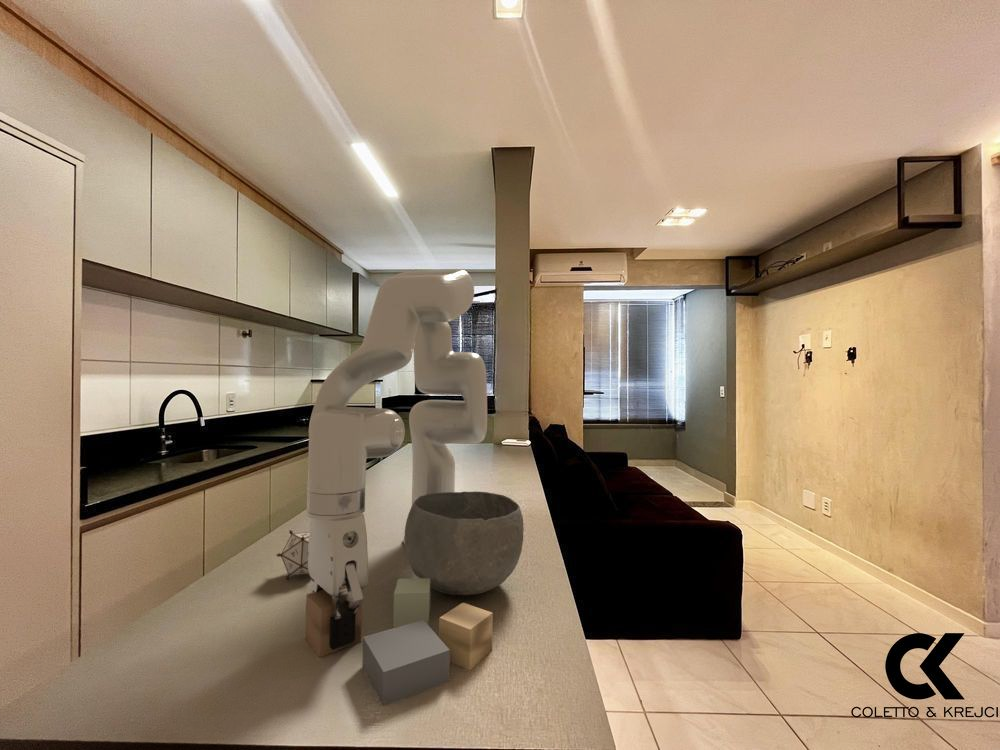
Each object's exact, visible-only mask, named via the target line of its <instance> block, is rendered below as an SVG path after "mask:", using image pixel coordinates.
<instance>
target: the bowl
mask: <svg viewBox="0 0 1000 750" xmlns="http://www.w3.org/2000/svg"><path fill="white" fill-rule="evenodd" d="M522 514H523V513H522V510H521V508H520V505H519V504H518V503H517V502H516V501H515V500H514V499H512V498H510V497H509V496H507V495H503V494H499V493H495V492H494V493H493V492H487V491H476V490H475V491H461V492H459V491H455V492H443V493H432V494H426V495H424V496H420V497H419V498H417V499H416V500H415V501H414V503H413V505H412V504H411V507H410V509H409V512H408V515H407V518H406V521H405V527H404V536H405V537H404V536H403V542H404V541H405V544H404V548H405V549H404V550H405V552H406V557H407V561H408V563H409V564H408V565H409V566H410V568H411V570H412V571H413V573H414V574H415V575H416V577H417V578H430V579H431V582H430V589H431V588H432V590H435V591H437V592H439V593H442V594H448V595H455V596H472V595H473V596H474V595H478V594H483V593H485V592H488V591H491V590H493V589H495V588H496V587H498V586H500V585H502V584H503V583H504V582H505V581H506V579H508V577H510V576H511V574H512V573H513V572H514V570H515V569H516V567H517V564H518V563H519V560H520V557H521V554H522V550H523V543H524V531H525V530H524V519H523V515H522Z"/></svg>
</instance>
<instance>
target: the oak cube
mask: <svg viewBox="0 0 1000 750" xmlns="http://www.w3.org/2000/svg"><path fill="white" fill-rule="evenodd" d="M493 613H494V612H491V611H489V610H485V609H483V608H480V607H478V606H477V607H476V606H474V605H471V604H469V603H466V602H461V603H460V604H458V605H456V606H455V607H453V608H452V609H450V610H448V611H447V612H446V613H444V614H442V615H441V616H440V617H439V619H438V620H439V621H438V623H439V624H438V631H439V632H438V637H439V638H440V639H441V640H442V642H443V643H444V644H445V645H446V646H447V647H448V648H449V650H450V663H451V662H452V663H453V664H455V665H457V666H460V667H462V668H465V669H467V670H472V668H474V666H476V665H477V664H478V663H480V661H482V660H483V659H484V658H486V656H487V655H488V654H489V653H491V652H492V651H493V622H494V621H493V619H494V618H493V617H494V615H493Z"/></svg>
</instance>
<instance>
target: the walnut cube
mask: <svg viewBox="0 0 1000 750" xmlns="http://www.w3.org/2000/svg"><path fill="white" fill-rule="evenodd" d="M344 589H347V587H346V585H343V586H341V587H339V591H341V590H344ZM347 598H348V594H347V595H344V596H341V597H339V600H340V606H341V604H342V603H343V601H346V600H347ZM305 604H306V605H305V628H304V629H305V632H304V634H305V636H304V639H305V640H306V642H307V643H308V644H309V645H310V647H311V648H312V650H313V651H314V652H315V653H316V654H317V655H318V657H319V658H322V657H324V656H326V655H329V654H332V653H335V652H337V651H340V650H343V649H346V648H348V647H350V646H353V645H355V644H359V643H361V642H362V619H363V617H362V616H363V615H362V611H363V601H362V602H361V603H360V604H359V605H358V607H357V613H356V619H355V640H354V642H352V643H350V644H347V645H344V646H342V647H339V648H336V649H334V650H332V649H331V648H330V618H331V617H334V615H333V605H332V595H330V594H329V593H327V592H326V591H325V590H320V591H317V592H314V593H312V592H310V593H307V594H306V599H305Z"/></svg>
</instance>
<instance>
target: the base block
mask: <svg viewBox="0 0 1000 750" xmlns="http://www.w3.org/2000/svg"><path fill="white" fill-rule="evenodd" d="M450 663H451V661H450V650H449V648H448V647H447V646H446V645H445V644H444V643H443V642H442V640H441V639H440V638H439V635H437V634H436V632H435V631H434V630H433V629H432V628H431V627H430V626H429V624H428V625H427V623H426V622H425V621H424V620H421V621H417V622H414V623H410V624H407V625H403V626H400V627H396V628H393V627H392V628H390V629H386V630H383V631H379V632H375V633H372V634H369V635H365V636H363V637H362V669H363V671H364V673H365V674H366V677H367V679H368V681H369V683H370V684H371V687H372V688H373V690H374V692H375V694H376V696H377V698H378V700H379V702H380V704H381V706H382V707H383V708H384V707H386V706H390V705H391V704H394V703H397V702H399V701H402V700H405V699H407V698H410V697H413V696H416V695H418V694H421V693H424V692H426V691H428V690H431V689H433V688H437V687H440V686H441V685H442V686H443V685H445V684H448V683H449V682H450V666H451V665H450Z"/></svg>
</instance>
